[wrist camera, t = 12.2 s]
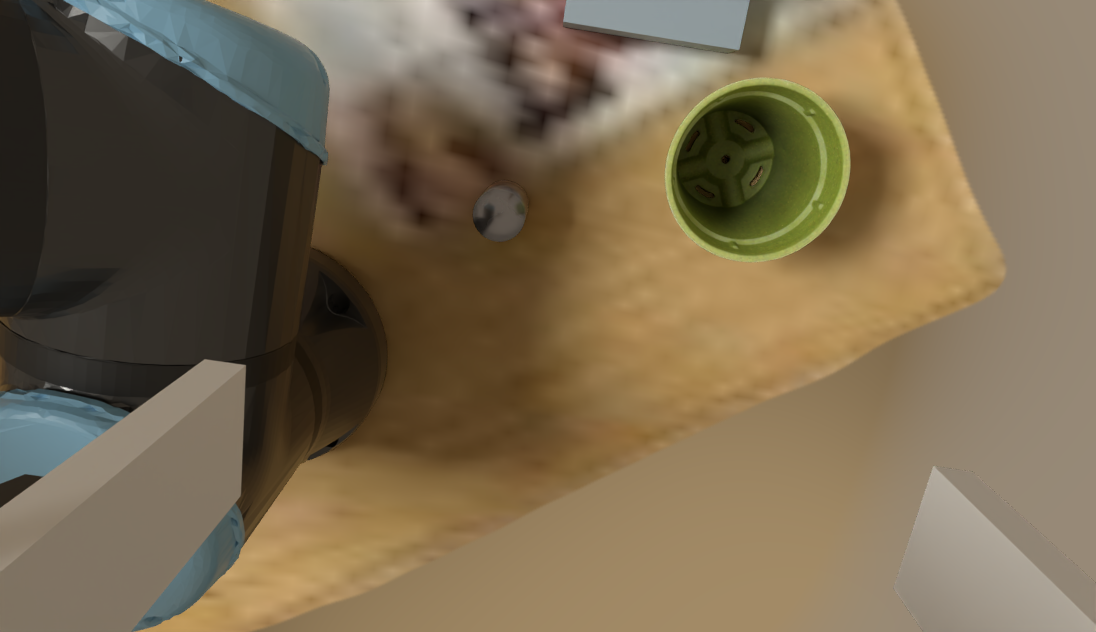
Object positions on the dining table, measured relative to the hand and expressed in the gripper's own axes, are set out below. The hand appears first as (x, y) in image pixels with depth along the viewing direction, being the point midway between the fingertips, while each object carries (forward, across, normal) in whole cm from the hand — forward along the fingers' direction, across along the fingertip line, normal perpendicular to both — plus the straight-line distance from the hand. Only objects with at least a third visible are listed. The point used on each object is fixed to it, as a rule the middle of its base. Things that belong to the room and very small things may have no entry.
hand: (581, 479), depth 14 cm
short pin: (+35, -4, 0) cm, 35 cm away
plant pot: (+35, +9, +5) cm, 36 cm away
